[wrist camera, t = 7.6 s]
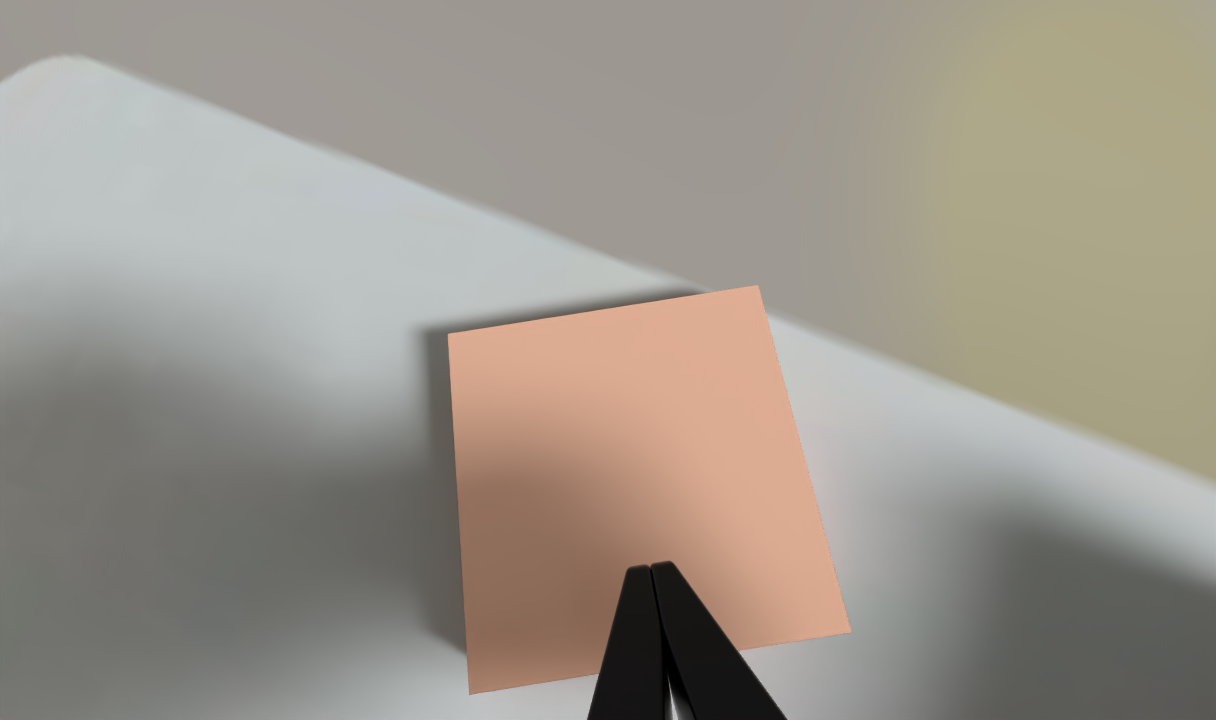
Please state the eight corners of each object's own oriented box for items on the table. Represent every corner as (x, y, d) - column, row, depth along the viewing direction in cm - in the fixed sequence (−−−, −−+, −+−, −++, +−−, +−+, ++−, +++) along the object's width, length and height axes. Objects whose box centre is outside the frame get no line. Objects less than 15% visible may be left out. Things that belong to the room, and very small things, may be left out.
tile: (851, 632, 13) (758, 285, 15) (469, 694, 12) (447, 333, 15) (816, 612, 15) (741, 313, 18) (493, 665, 15) (471, 356, 18)
